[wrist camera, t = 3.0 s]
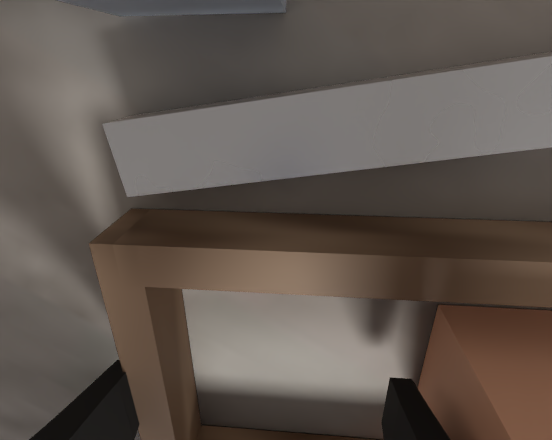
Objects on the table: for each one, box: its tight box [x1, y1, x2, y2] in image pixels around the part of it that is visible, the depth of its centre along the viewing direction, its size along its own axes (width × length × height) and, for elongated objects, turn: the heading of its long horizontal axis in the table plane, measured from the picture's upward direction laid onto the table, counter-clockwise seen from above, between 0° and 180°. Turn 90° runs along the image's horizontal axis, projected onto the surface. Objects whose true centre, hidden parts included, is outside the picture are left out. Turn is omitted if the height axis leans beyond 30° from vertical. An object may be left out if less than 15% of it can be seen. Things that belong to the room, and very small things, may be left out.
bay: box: [89, 208, 552, 440], centre depth 11 cm, size 15×11×2 cm
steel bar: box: [102, 52, 552, 197], centre depth 8 cm, size 12×2×2 cm, turn 98°
